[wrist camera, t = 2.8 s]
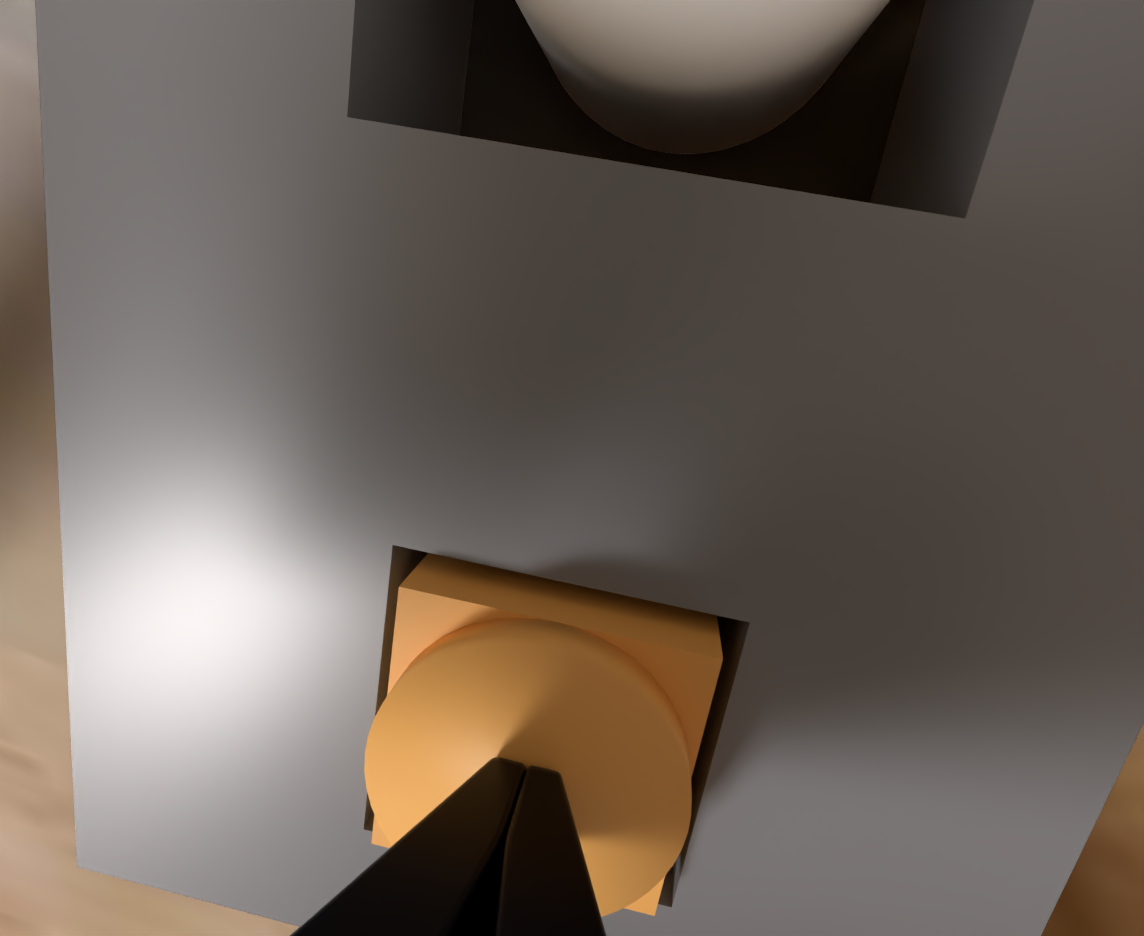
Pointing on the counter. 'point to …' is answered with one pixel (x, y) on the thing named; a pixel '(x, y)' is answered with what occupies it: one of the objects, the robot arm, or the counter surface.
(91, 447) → the housing
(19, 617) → the counter surface
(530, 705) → the orange block with disc
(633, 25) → the cylinder
